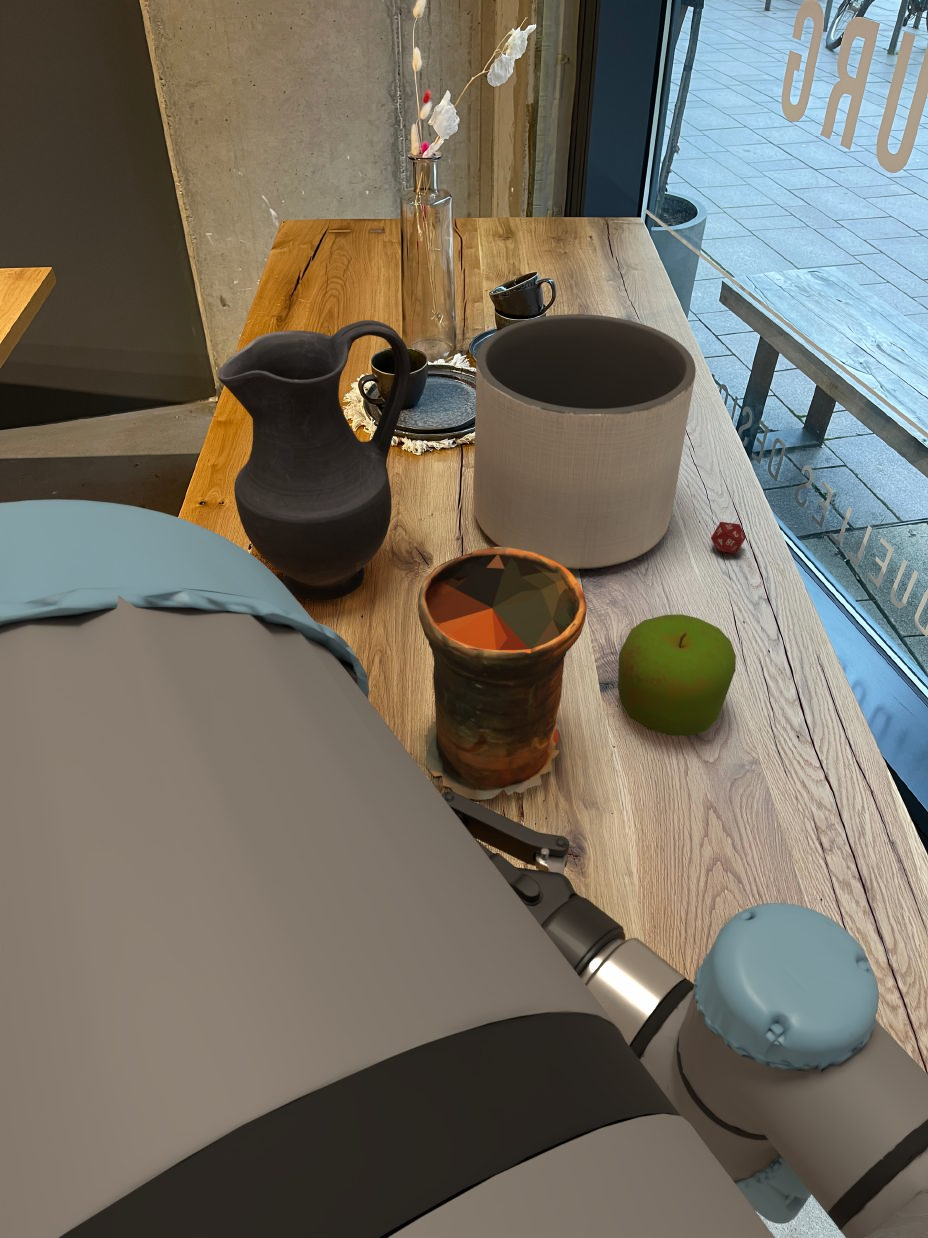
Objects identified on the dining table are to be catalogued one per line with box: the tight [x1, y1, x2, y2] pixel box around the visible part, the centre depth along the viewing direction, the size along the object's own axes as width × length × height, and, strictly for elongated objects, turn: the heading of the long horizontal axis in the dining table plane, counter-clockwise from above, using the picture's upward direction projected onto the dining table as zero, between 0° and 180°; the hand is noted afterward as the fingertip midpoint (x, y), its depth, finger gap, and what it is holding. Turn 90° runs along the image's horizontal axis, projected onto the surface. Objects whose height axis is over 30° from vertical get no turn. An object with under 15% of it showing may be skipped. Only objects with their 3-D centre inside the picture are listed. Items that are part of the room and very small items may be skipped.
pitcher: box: [218, 319, 411, 602], centre depth 101 cm, size 17×21×30 cm
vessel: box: [417, 546, 587, 800], centre depth 83 cm, size 14×14×20 cm
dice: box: [710, 521, 747, 555], centre depth 112 cm, size 4×4×4 cm
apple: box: [617, 613, 737, 737], centre depth 90 cm, size 11×11×11 cm
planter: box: [472, 313, 697, 570], centre depth 112 cm, size 25×25×22 cm
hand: (347, 772), depth 69 cm, fingers closed
